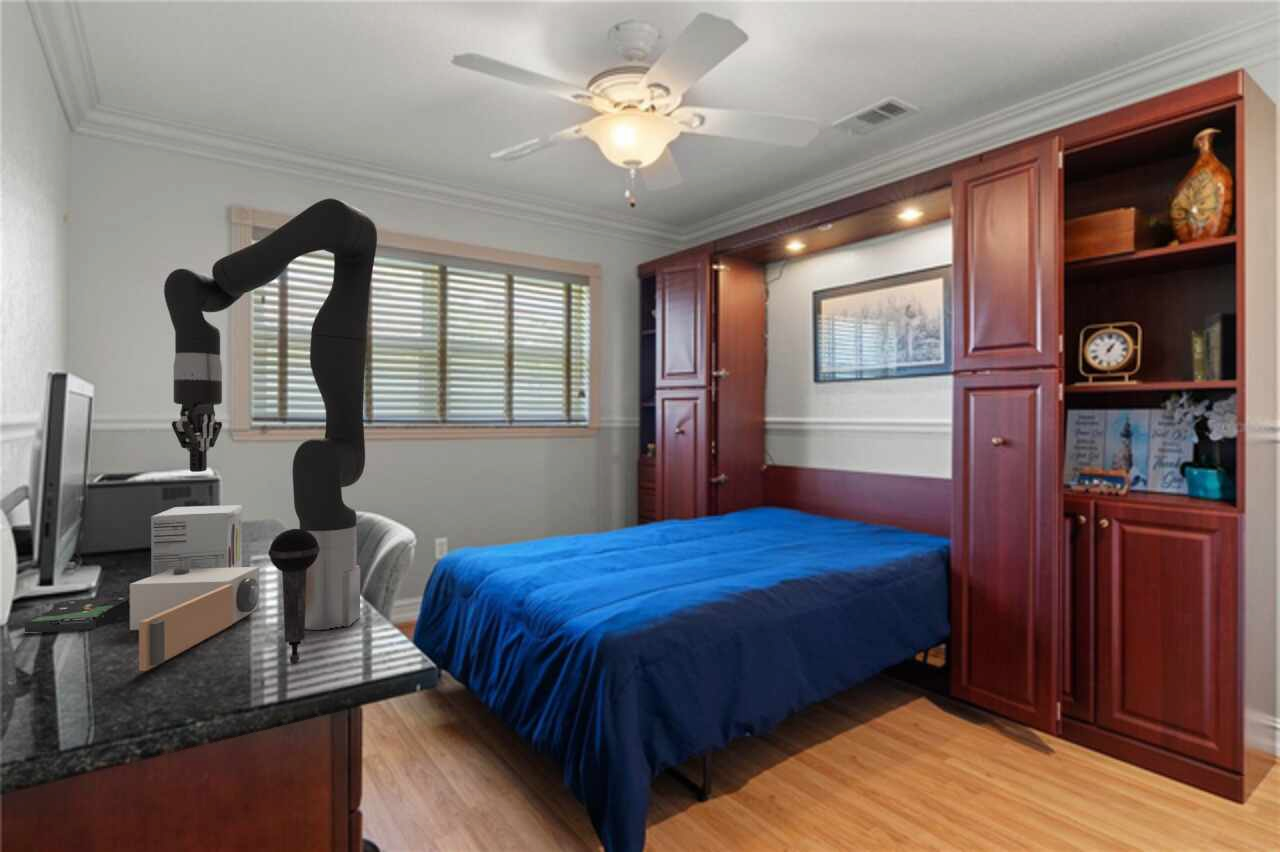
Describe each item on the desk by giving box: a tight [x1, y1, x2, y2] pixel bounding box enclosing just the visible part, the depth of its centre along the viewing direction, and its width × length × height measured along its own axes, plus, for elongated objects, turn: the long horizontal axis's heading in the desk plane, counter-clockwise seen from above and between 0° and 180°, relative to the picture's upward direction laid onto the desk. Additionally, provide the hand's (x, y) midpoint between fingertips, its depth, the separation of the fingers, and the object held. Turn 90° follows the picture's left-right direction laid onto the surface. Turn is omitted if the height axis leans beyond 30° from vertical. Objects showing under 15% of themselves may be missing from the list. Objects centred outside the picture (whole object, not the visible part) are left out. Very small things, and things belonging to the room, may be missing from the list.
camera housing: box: [129, 566, 260, 631], centre depth 120 cm, size 18×12×9 cm
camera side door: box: [138, 585, 234, 672], centre depth 104 cm, size 22×2×7 cm, turn 4°
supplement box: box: [150, 504, 243, 577], centre depth 137 cm, size 17×13×18 cm
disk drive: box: [24, 596, 130, 633], centre depth 120 cm, size 10×3×15 cm
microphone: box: [267, 528, 320, 664], centre depth 98 cm, size 7×7×20 cm
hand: (198, 471), depth 122 cm, fingers closed
